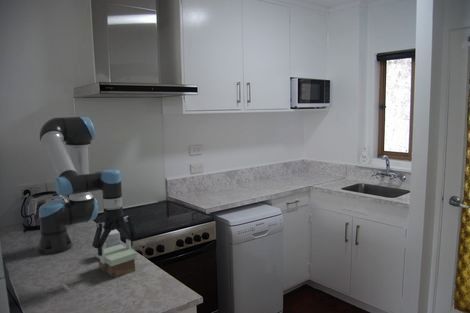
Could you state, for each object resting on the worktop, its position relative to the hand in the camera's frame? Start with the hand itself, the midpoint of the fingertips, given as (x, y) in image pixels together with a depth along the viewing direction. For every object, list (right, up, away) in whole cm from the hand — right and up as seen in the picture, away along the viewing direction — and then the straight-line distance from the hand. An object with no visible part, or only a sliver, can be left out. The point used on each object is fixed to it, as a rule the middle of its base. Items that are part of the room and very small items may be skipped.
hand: (116, 258), depth 150 cm
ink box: (-7, -4, +18) cm, 19 cm away
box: (0, -6, +1) cm, 6 cm away
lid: (0, -1, 0) cm, 1 cm away
